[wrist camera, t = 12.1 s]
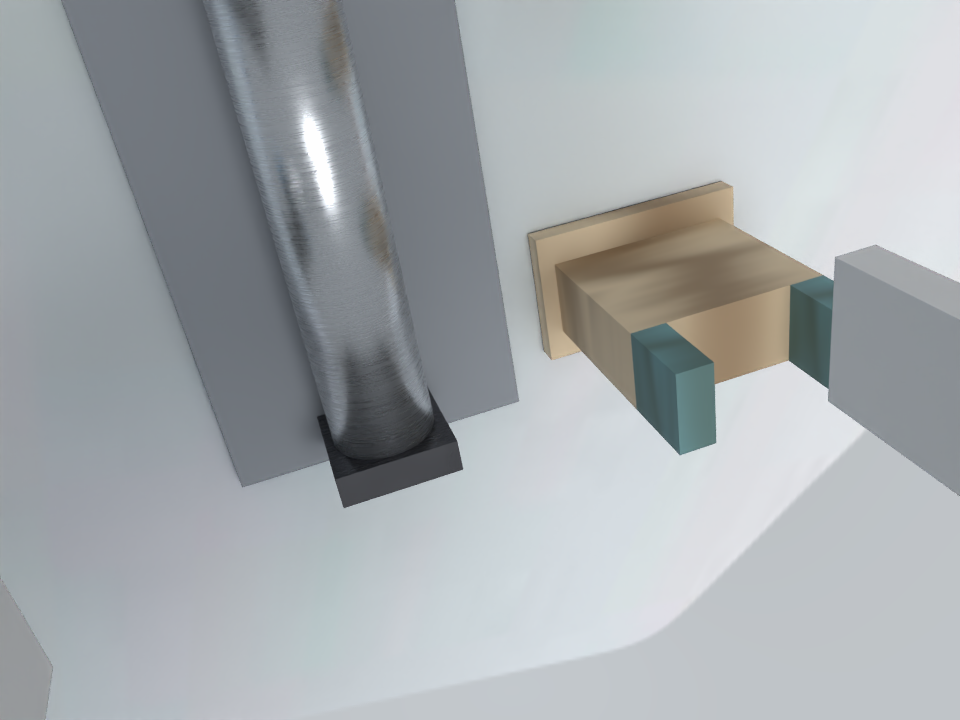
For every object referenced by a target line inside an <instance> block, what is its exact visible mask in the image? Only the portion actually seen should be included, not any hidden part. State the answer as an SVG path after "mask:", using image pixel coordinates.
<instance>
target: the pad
mask: <svg viewBox="0 0 960 720" xmlns="http://www.w3.org/2000/svg"><path fill="white" fill-rule="evenodd" d="M61 1H62V3H63V6H64V9H65V11H66V14H67V17H68V20H69V22H70V25H71V28H72V30H73V33H74V36H75V38H76V41H77V44H78V46H79V49H80V52H81V55H82V57H83V60H84V63H85V65H86V68H87V71H88V73H89V76H90V79H91V81H92V84H93V87H94V90H95V92H96V95H97V98H98V100H99V103H100V106H101V108H102V111H103V114H104V116H105V119H106V122H107V124H108V127H109V130H110V133H111V135H112V138H113V141H114V143H115V146H116V149H117V151H118V154H119V157H120V159H121V162H122V165H123V168H124V170H125V173H126V176H127V178H128V181H129V184H130V186H131V189H132V192H133V194H134V197H135V200H136V203H137V205H138V208H139V211H140V213H141V216H142V219H143V221H144V224H145V227H146V229H147V232H148V235H149V238H150V240H151V243H152V246H153V248H154V251H155V254H156V256H157V259H158V262H159V264H160V267H161V270H162V273H163V275H164V278H165V281H166V283H167V286H168V289H169V291H170V294H171V297H172V299H173V302H174V305H175V308H176V310H177V313H178V316H179V318H180V321H181V324H182V326H183V329H184V332H185V334H186V337H187V340H188V343H189V345H190V348H191V351H192V353H193V356H194V359H195V361H196V364H197V367H198V369H199V372H200V375H201V378H202V380H203V383H204V386H205V388H206V391H207V394H208V396H209V399H210V402H211V404H212V407H213V410H214V413H215V415H216V418H217V421H218V423H219V426H220V429H221V431H222V434H223V437H224V439H225V442H226V445H227V448H228V450H229V453H230V456H231V458H232V461H233V464H234V466H235V469H236V472H237V474H238V477H239V480H240V483H241V485H242V487H245V486H248V485H252V484H255V483H258V482H261V481H264V480H268V479H271V478H274V477H277V476H280V475H284V474H287V473H290V472H293V471H297V470H300V469H303V468H306V467H309V466H313V465H316V464H319V463H322V462H325V461H329V457H328V453H327V450H326V447H325V443H324V440H323V436H322V433H321V429H320V426H319V422H318V419H317V416H320V415H323V414H325V412H324V409H323V405H322V402H321V399H320V395H319V392H318V388H317V385H316V382H315V378H314V375H313V372H312V368H311V365H310V361H309V358H308V355H307V351H306V348H305V345H304V341H303V338H302V334H301V331H300V328H299V324H298V321H297V317H296V314H295V311H294V307H293V304H292V301H291V297H290V294H289V290H288V287H287V284H286V280H285V277H284V274H283V270H282V267H281V263H280V260H279V257H278V253H277V250H276V247H275V243H274V240H273V236H272V233H271V230H270V226H269V223H268V220H267V216H266V213H265V209H264V206H263V203H262V199H261V196H260V192H259V189H258V186H257V182H256V179H255V176H254V172H253V169H252V165H251V162H250V159H249V155H248V152H247V149H246V145H245V142H244V138H243V135H242V132H241V128H240V125H239V122H238V118H237V115H236V111H235V108H234V105H233V101H232V98H231V95H230V91H229V88H228V84H227V81H226V78H225V74H224V71H223V67H222V64H221V61H220V57H219V54H218V51H217V47H216V44H215V40H214V37H213V34H212V30H211V27H210V24H209V20H208V17H207V13H206V10H205V7H204V3H203V0H61ZM342 4H343V8H344V13H345V17H346V22H347V26H348V31H349V35H350V40H351V44H352V49H353V53H354V58H355V62H356V67H357V71H358V76H359V80H360V85H361V89H362V94H363V98H364V103H365V107H366V112H367V117H368V121H369V126H370V130H371V135H372V139H373V144H374V148H375V153H376V157H377V162H378V166H379V171H380V175H381V180H382V184H383V189H384V193H385V198H386V202H387V207H388V211H389V216H390V220H391V225H392V229H393V234H394V238H395V243H396V248H397V252H398V257H399V261H400V266H401V270H402V275H403V279H404V284H405V288H406V293H407V297H408V302H409V306H410V311H411V315H412V320H413V324H414V329H415V333H416V338H417V342H418V347H419V351H420V356H421V360H422V365H423V369H424V374H425V378H426V383H427V386H428V388H429V390H430V392H431V394H432V396H433V397H434V399H435V401H436V403H437V405H438V407H439V409H440V410H441V412H442V414H443V416H444V418H445V420H446V421H447V423H451V422H454V421H457V420H460V419H464V418H467V417H470V416H473V415H476V414H480V413H483V412H486V411H489V410H493V409H496V408H499V407H502V406H505V405H509V404H512V403H515V402H518V401H519V397H518V391H517V385H516V379H515V373H514V366H513V360H512V354H511V348H510V341H509V335H508V329H507V323H506V317H505V310H504V304H503V298H502V292H501V285H500V279H499V273H498V267H497V261H496V254H495V248H494V242H493V236H492V229H491V223H490V217H489V211H488V205H487V198H486V192H485V186H484V180H483V173H482V167H481V161H480V155H479V149H478V142H477V136H476V130H475V124H474V117H473V111H472V105H471V99H470V93H469V86H468V80H467V74H466V68H465V62H464V55H463V49H462V43H461V37H460V30H459V24H458V18H457V12H456V6H455V0H342Z"/></svg>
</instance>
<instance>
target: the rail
mask: <svg viewBox="0 0 960 720" xmlns="http://www.w3.org/2000/svg"><path fill="white" fill-rule="evenodd" d="M203 3H204V7H205V10H206V13H207V17H208V20H209V24H210V27H211V30H212V34H213V37H214V40H215V44H216V47H217V51H218V54H219V57H220V61H221V64H222V67H223V71H224V74H225V78H226V81H227V84H228V88H229V91H230V95H231V98H232V101H233V105H234V108H235V111H236V115H237V118H238V122H239V125H240V128H241V132H242V135H243V138H244V142H245V145H246V149H247V152H248V155H249V159H250V162H251V165H252V169H253V172H254V176H255V179H256V182H257V186H258V189H259V192H260V196H261V199H262V203H263V206H264V209H265V213H266V216H267V220H268V223H269V226H270V230H271V233H272V236H273V240H274V243H275V247H276V250H277V253H278V257H279V260H280V263H281V267H282V270H283V274H284V277H285V280H286V284H287V287H288V290H289V294H290V297H291V301H292V304H293V307H294V311H295V314H296V317H297V321H298V324H299V328H300V331H301V334H302V338H303V341H304V345H305V348H306V351H307V355H308V358H309V361H310V365H311V368H312V372H313V375H314V378H315V382H316V385H317V388H318V392H319V395H320V399H321V402H322V405H323V409H324V412H325V414H323V415H320V416H317V419H318V422H319V426H320V429H321V433H322V436H323V440H324V443H325V447H326V450H327V453H328V457H329V460H330V464H331V467H332V471H333V474H334V478H335V481H336V484H337V488H338V491H339V494H340V498H341V501H342V504H343V507H344V508H346V507H349V506H352V505H355V504H358V503H361V502H364V501H367V500H370V499H373V498H377V497H380V496H383V495H386V494H389V493H392V492H395V491H398V490H401V489H404V488H407V487H411V486H414V485H417V484H420V483H423V482H426V481H429V480H432V479H435V478H438V477H442V476H445V475H448V474H451V473H454V472H457V471H460V470H463V466H462V462H461V457H460V452H459V447H458V443H457V440H456V438H455V436H454V434H453V432H452V431H451V429H450V427H449V425H448V423H447V421H446V420H445V418H444V416H443V414H442V412H441V410H440V409H439V407H438V405H437V403H436V401H435V399H434V397H433V396H432V394H431V392H430V390H429V388H428V386H427V383H426V378H425V374H424V369H423V365H422V360H421V356H420V351H419V347H418V342H417V338H416V333H415V329H414V324H413V320H412V315H411V311H410V306H409V302H408V297H407V293H406V288H405V284H404V279H403V275H402V270H401V266H400V261H399V257H398V252H397V248H396V243H395V238H394V234H393V229H392V225H391V220H390V216H389V211H388V207H387V202H386V198H385V193H384V189H383V184H382V180H381V175H380V171H379V166H378V162H377V157H376V153H375V148H374V144H373V139H372V135H371V130H370V126H369V121H368V117H367V112H366V107H365V103H364V98H363V94H362V89H361V85H360V80H359V76H358V71H357V67H356V62H355V58H354V53H353V49H352V44H351V40H350V35H349V31H348V26H347V22H346V17H345V13H344V8H343V4H342V0H203Z"/></svg>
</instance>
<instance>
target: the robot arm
mask: <svg viewBox="0 0 960 720" xmlns="http://www.w3.org/2000/svg"><path fill="white" fill-rule="evenodd" d="M828 401H829V402H830V403H831V404H833V405H834V406H836V407H837V408H838V409H840V410H841V411H842V412H844V413H845V414H847V415H848V416H849V417H851V418H852V419H854V420H855V421H856V422H858V423H859V424H860V425H862V426H863V427H865V428H866V429H867V430H869V431H870V432H872V433H873V434H874V435H876V436H877V437H878V438H880V439H881V440H883V441H884V442H885V443H887V444H888V445H890V446H891V447H892V448H894V449H895V450H897V451H898V452H900V453H901V454H902V455H903V456H905V457H906V458H908V459H909V460H910V461H912V462H913V463H915V464H916V465H917V466H919V467H920V468H921V469H923V470H924V471H926V472H927V473H928V474H930V475H931V476H933V477H934V478H935V479H937V480H938V481H939V482H941V483H942V484H944V485H945V486H946V487H948V488H949V489H950V490H952V491H953V492H955V493H956V494H957V495H959V496H960V283H959V282H956V281H954V280H952V279H950V278H948V277H945V276H943V275H941V274H939V273H937V272H934V271H932V270H930V269H928V268H926V267H923V266H921V265H919V264H917V263H915V262H912V261H910V260H908V259H906V258H904V257H901V256H899V255H897V254H895V253H893V252H890V251H888V250H886V249H884V248H882V247H879V246H877V245H873V246H870V247H867V248H864V249H860V250H857V251H854V252H850V253H847V254H844V255H841V256H837V257H835V268H834V289H833V309H832V330H831V350H830V371H829V392H828ZM52 671H53V666H52V664H51V663H50V661H49V659H48V657H47V656H46V654H45V652H44V651H43V649H42V647H41V645H40V644H39V642H38V640H37V639H36V637H35V635H34V633H33V632H32V630H31V628H30V627H29V625H28V623H27V621H26V620H25V618H24V616H23V615H22V613H21V611H20V609H19V608H18V606H17V604H16V603H15V601H14V599H13V597H12V596H11V594H10V592H9V591H8V589H7V587H6V586H5V584H4V582H3V580H2V579H1V577H0V720H45V719H46V712H47V705H48V698H49V691H50V685H51V678H52Z"/></svg>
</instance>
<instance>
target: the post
mask: <svg viewBox="0 0 960 720" xmlns="http://www.w3.org/2000/svg"><path fill="white" fill-rule="evenodd" d="M528 238H529V245H530V252H531V260H532V267H533V274H534V281H535V288H536V296H537V303H538V310H539V317H540V324H541V332H542V339H543V346H544V352H545V353H546V354H547V355H548V356H549V358H550V359H551V360H554V359H557V358H561V357H564V356H567V355H571V354H574V353H577V352H580V351H582V352H583V353H584V354H585V355H586V356H587V357H588V358H589V359H590V360H591V361H592V362H593V364H594V365H595V366H596V367H597V368H598V369H599V370H600V371H601V372H602V373H603V374H604V375H605V376H606V377H607V378H608V379H609V380H610V382H611V383H612V384H613V385H614V386H615V387H616V388H617V389H618V390H619V391H620V392H621V393H622V394H623V395H624V396H625V397H626V399H627V400H628V401H629V402H630V403H631V404H632V405H633V406H634V407H635V408H636V409H637V410H638V411H639V412H640V413H641V414H642V415H643V417H644V418H645V419H646V420H647V421H648V422H649V423H650V424H651V425H652V426H653V427H654V428H655V429H656V430H657V431H658V432H659V434H660V435H661V436H662V437H663V438H664V439H665V440H666V441H667V442H668V443H669V444H670V445H671V446H672V447H673V448H674V449H675V450H676V452H677V453H678V454H679V455H682V454H685V453H688V452H691V451H694V450H697V449H700V448H703V447H706V446H709V445H712V444H715V443H716V416H715V384H717V383H720V382H723V381H726V380H729V379H732V378H736V377H739V376H742V375H745V374H748V373H751V372H754V371H757V370H760V369H764V368H767V367H770V366H773V365H776V364H779V363H782V362H785V361H788V360H789V361H790V362H792V363H793V364H794V365H796V366H797V367H799V368H800V369H801V370H803V371H804V372H805V373H807V374H808V375H810V376H811V377H812V378H814V379H815V380H817V381H818V382H819V383H821V384H822V385H824V386H825V387H826V388H828V389H829V371H830V350H831V330H832V309H833V289H834V281H833V280H831V279H829V278H827V277H825V276H824V275H822V274H820V273H818V272H816V271H815V270H813V269H811V268H809V267H807V266H805V265H804V264H802V263H800V262H798V261H796V260H795V259H793V258H791V257H789V256H787V255H785V254H784V253H782V252H780V251H778V250H776V249H775V248H773V247H771V246H769V245H767V244H765V243H764V242H762V241H760V240H758V239H756V238H755V237H753V236H751V235H749V234H747V233H745V232H744V231H742V230H740V229H738V228H736V227H735V226H734V225H733V187H732V186H730V185H728V184H726V183H724V182H722V181H721V182H717V183H713V184H710V185H706V186H702V187H699V188H695V189H691V190H688V191H684V192H680V193H677V194H673V195H669V196H666V197H662V198H658V199H655V200H651V201H647V202H644V203H640V204H636V205H633V206H629V207H625V208H622V209H618V210H614V211H611V212H607V213H603V214H600V215H596V216H592V217H589V218H585V219H581V220H578V221H574V222H570V223H567V224H563V225H559V226H556V227H552V228H548V229H545V230H541V231H537V232H534V233H530V234H528Z"/></svg>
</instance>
